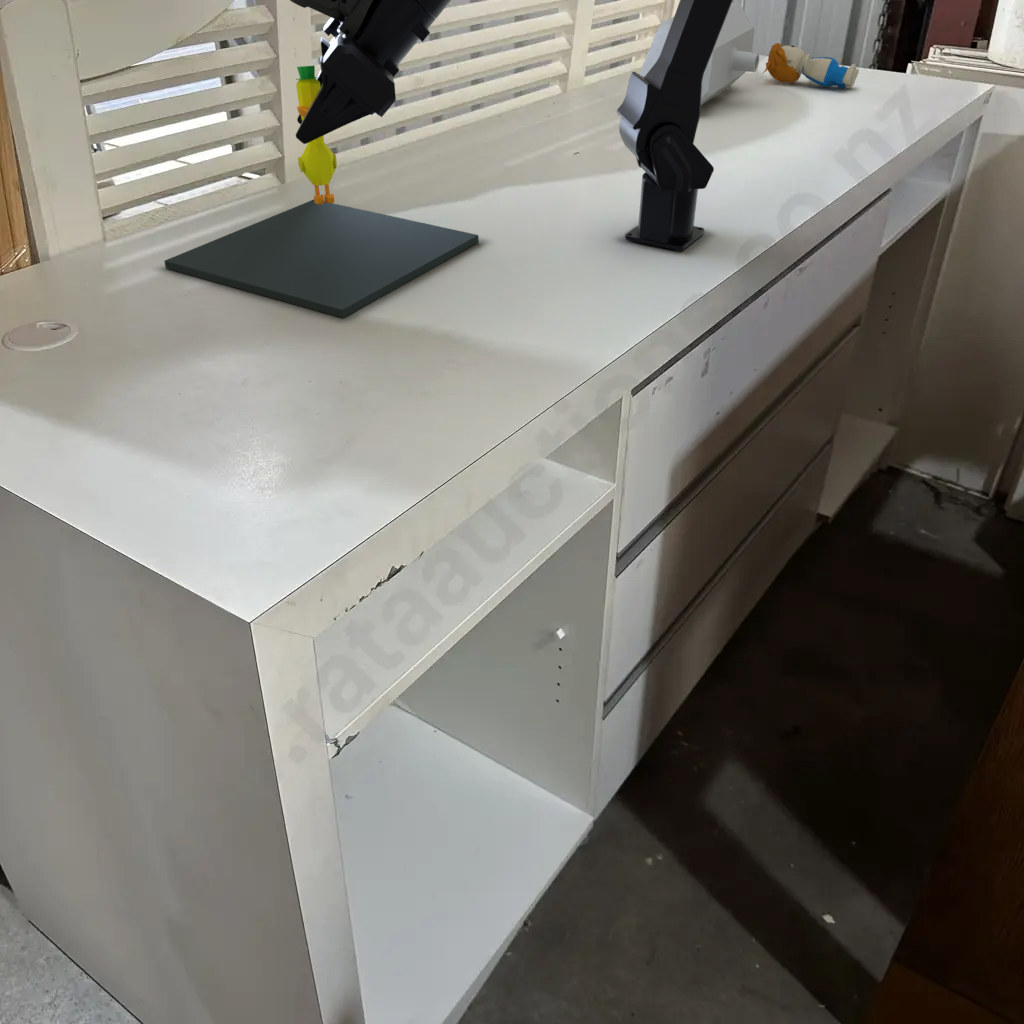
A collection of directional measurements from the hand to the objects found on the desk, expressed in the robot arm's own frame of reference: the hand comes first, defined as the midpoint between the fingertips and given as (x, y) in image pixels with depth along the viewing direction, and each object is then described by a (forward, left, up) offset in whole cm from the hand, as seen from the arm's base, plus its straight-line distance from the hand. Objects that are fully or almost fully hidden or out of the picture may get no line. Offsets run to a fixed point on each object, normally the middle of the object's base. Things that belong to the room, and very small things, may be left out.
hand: (300, 132), depth 88 cm
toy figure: (+1, -1, -7) cm, 7 cm away
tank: (+83, -8, -12) cm, 84 cm away
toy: (+103, -19, -12) cm, 106 cm away
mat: (+1, -1, -12) cm, 12 cm away
